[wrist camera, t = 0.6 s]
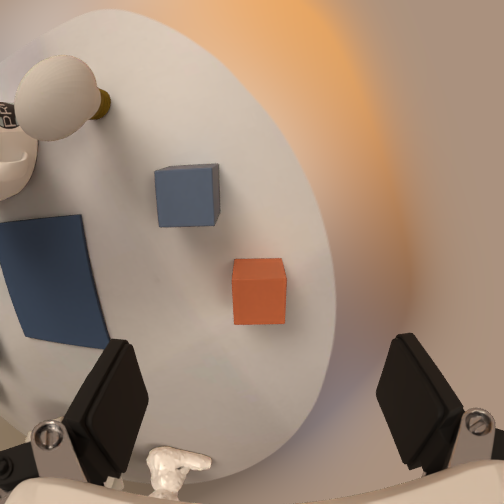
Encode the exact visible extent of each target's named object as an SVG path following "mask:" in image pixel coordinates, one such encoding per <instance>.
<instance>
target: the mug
mask: <svg viewBox="0 0 504 504" xmlns="http://www.w3.org/2000/svg"><path fill="white" fill-rule="evenodd" d="M37 146H38V141H37V139H34V138H32V137H31V136H29V135H27V134H26V133H25V132H24V131H23V130H22V128H21V127H20V125H19V124H18V121H17V119H16V116H15V109H14V103H5V102H0V201H1V200H4V199H6V198H8V197H11V196H13V195H15V194H17V193H18V192H20V191H21V190H22V189H23V188H24V187H25V185H26V184H27V182H28V181H29V179H30V177H31V175H32V172H33V170H34V166H35V162H36V158H37Z"/></svg>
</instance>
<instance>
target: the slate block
mask: <svg viewBox="0 0 504 504" xmlns="http://www.w3.org/2000/svg"><path fill="white" fill-rule="evenodd" d="M154 173H155V188H156V200H157V212H158V222H159V227H191V226H215V223H216V221H217V219H218V216H219V214H220V191H219V164H198V165H182V166H169V167H166V168H163V169H160V170H157V171H155V172H154Z"/></svg>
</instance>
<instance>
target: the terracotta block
mask: <svg viewBox="0 0 504 504" xmlns="http://www.w3.org/2000/svg"><path fill="white" fill-rule="evenodd" d="M286 286H287V278H286V274H285V270H284V266H283V262H282V259H281V258H275V259H235V260H234V267H233V274H232V296H233V315H234V325H252V324H285V309H286Z"/></svg>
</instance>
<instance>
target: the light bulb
mask: <svg viewBox="0 0 504 504" xmlns="http://www.w3.org/2000/svg"><path fill="white" fill-rule="evenodd" d="M110 104H111V99H110V96H109V94H108V93H107V92H106V91H104V90H102V89H99V88H98V87H97V84H96V79H95V76H94V74H93V72H92V70H91V69H90V68H89V66H88V65H87V64H86V63H84V62H83V61H82V60H80V59H78V58H76V57H73V56H67V55H58V56H53V57H49V58H47V59H45V60H43V61H41V62H39V63H38V64H36V65H35V66H34V67H33V68H31V69H30V70H29V71H28V72H27V74H26V75H25V76H24V78H23V79H22V81H21V83H20V84H19V87H18V89H17V92H16V96H15V102H14V109H15V116H16V119H17V121H18V124H19V125H20V127H21V128H22V130H23V131H24V132H25V133H26V134H27V135H29V136H31V137H32V138H34V139H37V140H40V141H56V140H60V139H63V138H66V137H68V136H70V135H71V134H73V133H74V132H76V131H77V130H78V129H79V128H80V127H81V126H82V125H83V124H84V123H85V122H86V121H87V120H97V119H100V118H102V117H103V116H104V115H105V114H106V113H107V112H108V110H109V108H110Z"/></svg>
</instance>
